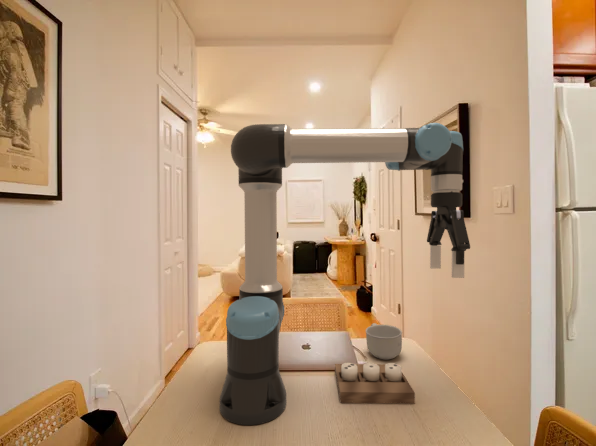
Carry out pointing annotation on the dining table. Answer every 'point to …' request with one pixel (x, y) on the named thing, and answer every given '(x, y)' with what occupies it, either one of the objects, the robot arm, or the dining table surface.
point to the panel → (373, 388)
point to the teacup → (384, 341)
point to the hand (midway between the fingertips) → (445, 272)
